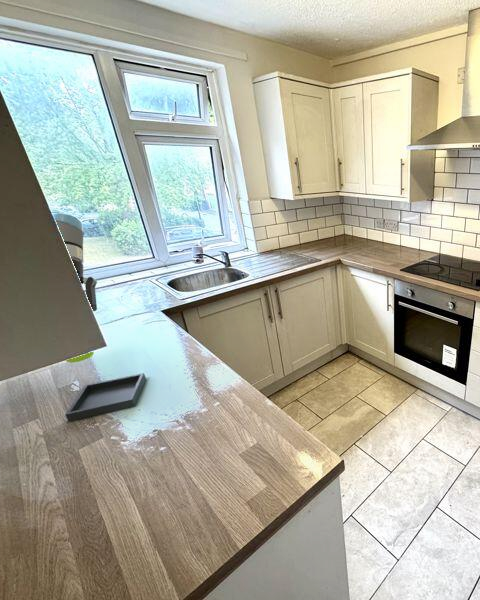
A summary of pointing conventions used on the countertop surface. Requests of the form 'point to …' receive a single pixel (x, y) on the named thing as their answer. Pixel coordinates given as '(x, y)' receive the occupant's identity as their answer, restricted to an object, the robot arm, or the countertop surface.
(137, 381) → the tray
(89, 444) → the countertop surface
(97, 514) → the countertop surface
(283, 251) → the countertop surface
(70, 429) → the countertop surface
